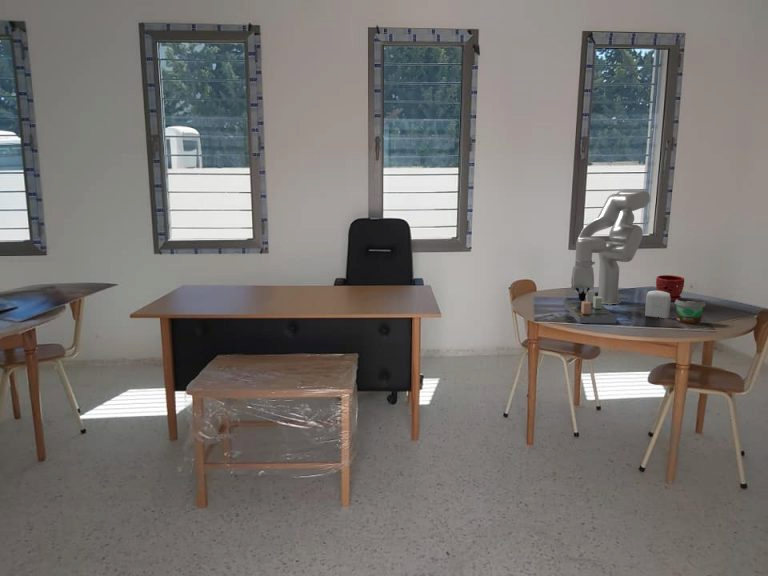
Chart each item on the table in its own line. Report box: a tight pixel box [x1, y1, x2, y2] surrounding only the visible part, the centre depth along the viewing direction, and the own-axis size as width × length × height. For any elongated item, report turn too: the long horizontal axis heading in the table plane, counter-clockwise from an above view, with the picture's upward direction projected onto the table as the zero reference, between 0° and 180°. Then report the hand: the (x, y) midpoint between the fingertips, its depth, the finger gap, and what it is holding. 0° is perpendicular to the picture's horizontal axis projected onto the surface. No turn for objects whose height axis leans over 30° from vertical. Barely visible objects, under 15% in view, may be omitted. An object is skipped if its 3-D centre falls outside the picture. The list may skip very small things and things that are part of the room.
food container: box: [674, 299, 707, 325], centre depth 253 cm, size 12×6×10 cm, turn 70°
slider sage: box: [593, 295, 603, 309], centre depth 271 cm, size 3×4×5 cm, turn 174°
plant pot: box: [655, 274, 685, 302], centre depth 298 cm, size 13×13×12 cm
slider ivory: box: [585, 291, 596, 303], centre depth 282 cm, size 3×4×5 cm, turn 174°
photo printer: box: [644, 290, 672, 319], centre depth 264 cm, size 10×4×12 cm, turn 56°
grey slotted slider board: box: [563, 299, 617, 325], centre depth 272 cm, size 16×34×3 cm, turn 174°
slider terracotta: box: [581, 300, 591, 314], centre depth 261 cm, size 3×4×5 cm, turn 174°
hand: (581, 300), depth 282 cm, fingers closed
